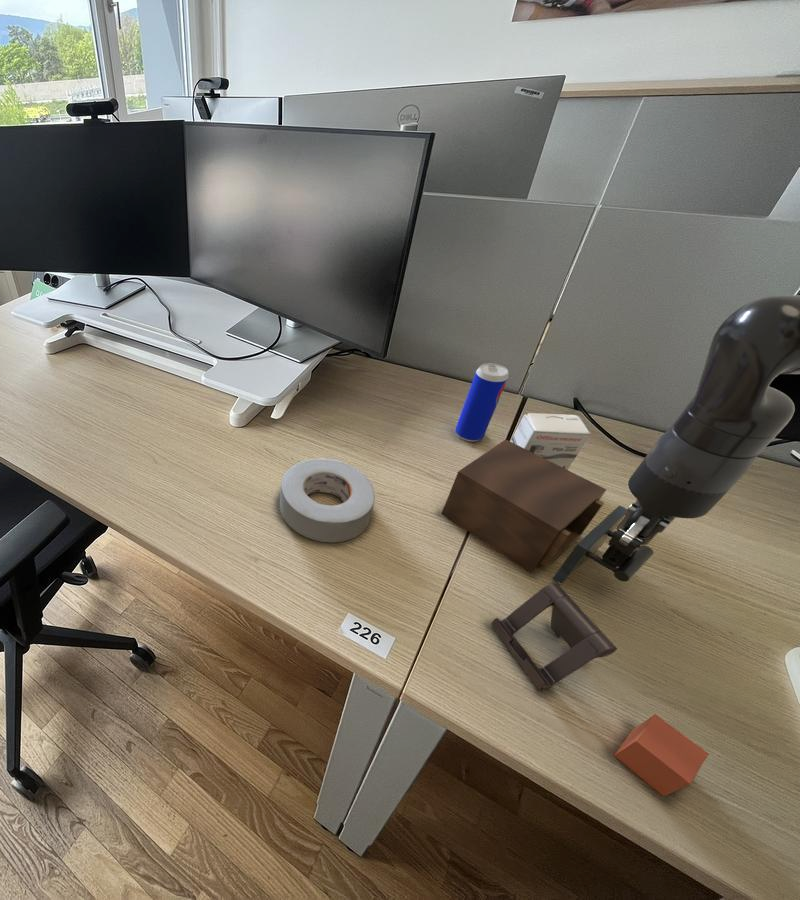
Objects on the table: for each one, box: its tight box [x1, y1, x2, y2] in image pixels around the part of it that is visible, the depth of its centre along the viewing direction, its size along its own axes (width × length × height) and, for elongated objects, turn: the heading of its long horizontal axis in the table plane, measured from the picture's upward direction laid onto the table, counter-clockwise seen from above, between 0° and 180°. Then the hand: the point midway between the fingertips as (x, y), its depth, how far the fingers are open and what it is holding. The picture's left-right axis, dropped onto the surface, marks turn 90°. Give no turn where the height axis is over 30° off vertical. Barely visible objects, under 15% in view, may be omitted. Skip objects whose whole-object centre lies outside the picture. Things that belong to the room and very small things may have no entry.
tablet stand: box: [490, 581, 618, 691], centre depth 57 cm, size 9×8×8 cm
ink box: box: [510, 412, 592, 471], centre depth 80 cm, size 9×5×12 cm, turn 80°
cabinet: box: [441, 439, 607, 574], centre depth 72 cm, size 15×13×10 cm
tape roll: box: [279, 457, 376, 543], centre depth 79 cm, size 15×15×5 cm
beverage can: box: [455, 362, 509, 442], centre depth 88 cm, size 5×5×15 cm
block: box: [613, 713, 710, 797], centre depth 48 cm, size 4×4×4 cm
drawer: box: [540, 499, 654, 585], centre depth 68 cm, size 19×12×8 cm, turn 33°
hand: (612, 560), depth 64 cm, fingers closed
